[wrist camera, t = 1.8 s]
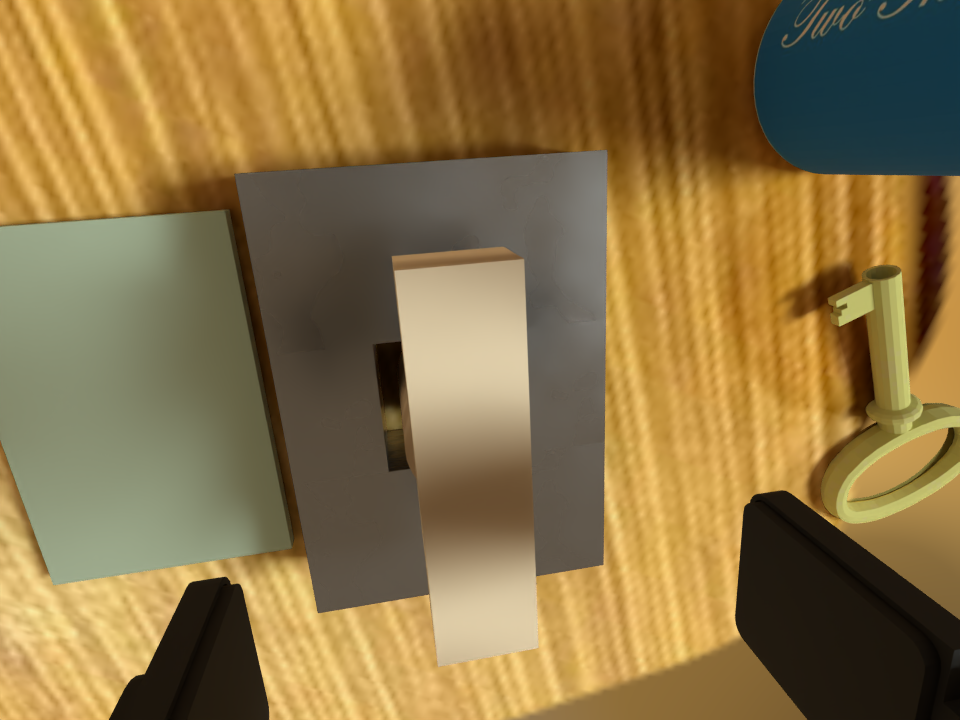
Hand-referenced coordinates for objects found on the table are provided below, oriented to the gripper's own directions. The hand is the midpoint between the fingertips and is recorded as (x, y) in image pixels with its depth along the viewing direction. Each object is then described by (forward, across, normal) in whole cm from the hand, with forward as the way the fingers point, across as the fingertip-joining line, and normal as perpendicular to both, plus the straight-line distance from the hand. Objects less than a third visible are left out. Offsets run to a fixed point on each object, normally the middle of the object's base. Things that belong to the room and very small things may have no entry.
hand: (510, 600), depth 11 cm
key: (+12, -18, +3) cm, 22 cm away
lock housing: (+11, 0, -1) cm, 11 cm away
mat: (+11, +10, -1) cm, 15 cm away
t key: (+11, 0, -1) cm, 11 cm away
